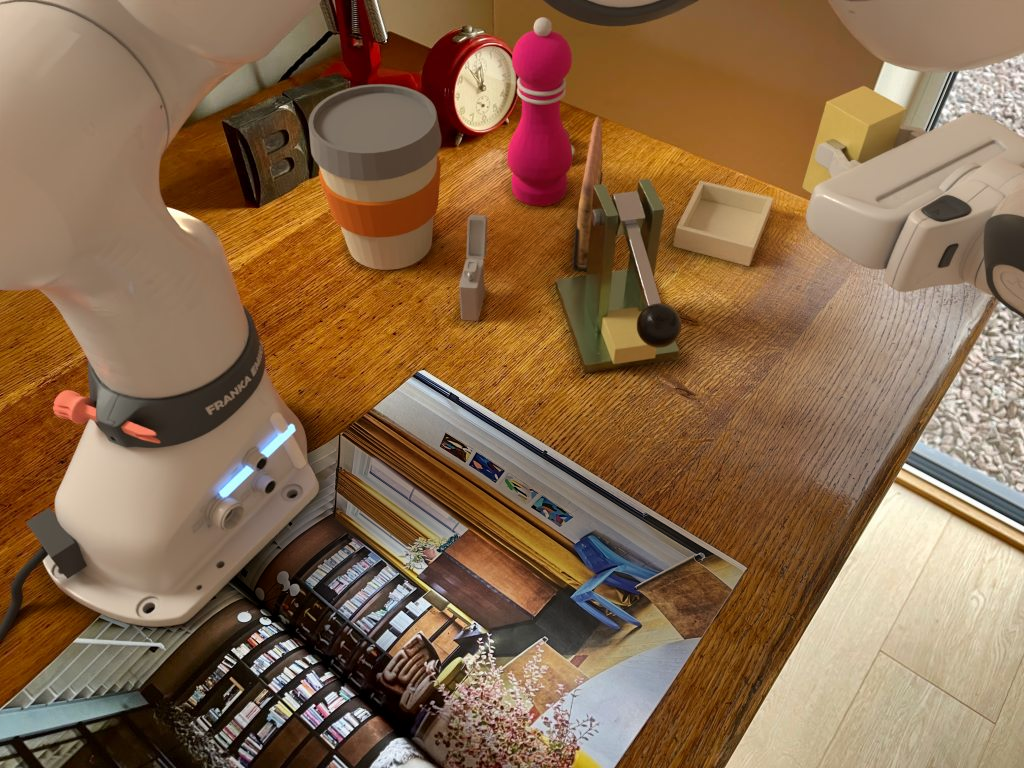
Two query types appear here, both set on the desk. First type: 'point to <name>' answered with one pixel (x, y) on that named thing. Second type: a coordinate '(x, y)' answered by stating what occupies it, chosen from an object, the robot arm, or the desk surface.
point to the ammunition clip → (588, 197)
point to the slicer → (610, 280)
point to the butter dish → (723, 222)
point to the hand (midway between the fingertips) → (845, 137)
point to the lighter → (474, 268)
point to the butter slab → (625, 336)
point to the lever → (645, 276)
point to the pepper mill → (540, 117)
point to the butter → (856, 129)
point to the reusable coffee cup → (379, 170)
